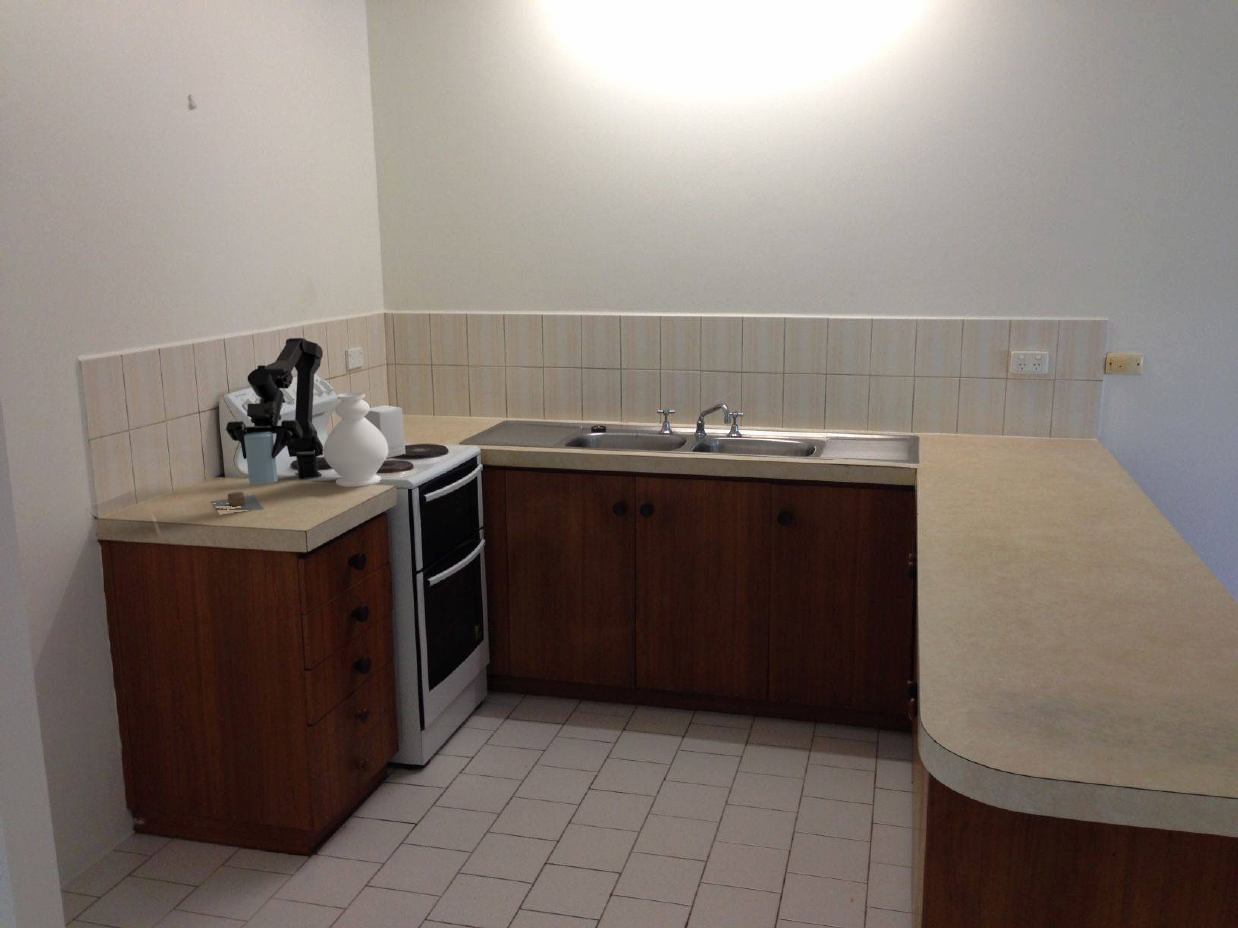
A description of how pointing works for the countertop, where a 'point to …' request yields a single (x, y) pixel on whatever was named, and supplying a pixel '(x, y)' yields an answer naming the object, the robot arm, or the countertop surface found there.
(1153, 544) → the countertop surface
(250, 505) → the mat
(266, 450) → the tumbler
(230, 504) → the brown block
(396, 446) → the supplement box
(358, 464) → the decorative vase
